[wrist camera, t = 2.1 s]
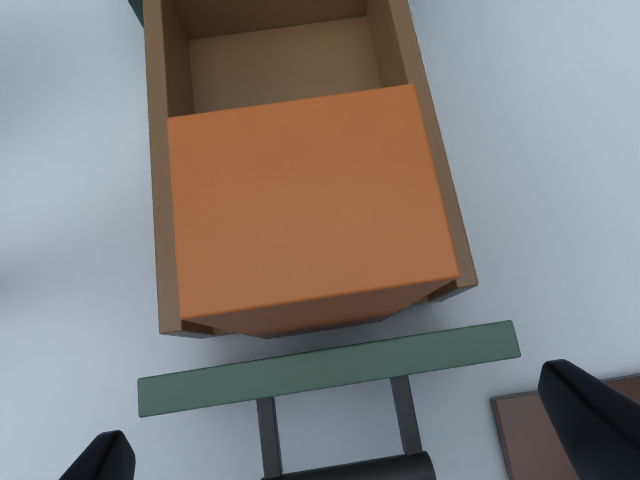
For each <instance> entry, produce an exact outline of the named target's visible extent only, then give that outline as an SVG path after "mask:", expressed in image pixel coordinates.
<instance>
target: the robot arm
mask: <svg viewBox="0 0 640 480" xmlns="http://www.w3.org/2000/svg"><path fill="white" fill-rule="evenodd" d="M538 393H539V397H540V399H541V401H542V404H543V406H544V408H545V410H546V412H547V414H548V416H549V419H550V421H551V423H552V425H553V427H554V429H555V431H556V433H557V436H558V438H559V440H560V442H561V444H562V446H563V448H564V451H565V453H566V455H567V457H568V459H569V461H570V463H571V465H572V467H573V469H574V471H575V473H576V474H577V476H578V478H579V480H640V404H638V403H637V402H635V401H633V400H632V399H630V398H628V397H627V396H625V395H623V394H622V393H620V392H618V391H617V390H615V389H614V388H612V387H610V386H609V385H607V384H605V383H604V382H602V381H600V380H599V379H597V378H595V377H594V376H592V375H590V374H589V373H587V372H586V371H584V370H582V369H581V368H579V367H577V366H576V365H574V364H572V363H571V362H569V361H567V360H564V359H558V360H551V361H546V362H545V363H544V364H543V366H542V371H541V375H540V380H539V384H538ZM135 464H136V459H135V454H134V451H133V449H132V448H131V446H130V444H129V442H128V440H127V439H126V437H125V435H124V433H123V432H122V431H120V430H115V431H109V432H103V433H101V434H99V435H98V436H97V437H96V438H95V439H94V440H93V441H92V442H91V443H90V444H89V446H88V447H87V448H86V449H85V450H84V451H83V452H82V453H81V455H80V456H79V457H78V458H77V459H76V460H75V461H74V463H73V464H72V465H71V466H70V467H69V468H68V469H67V471H66V472H65V473H64V474H63V475H62V476H61V477H60V479H59V480H133V479H134V472H135Z"/></svg>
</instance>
